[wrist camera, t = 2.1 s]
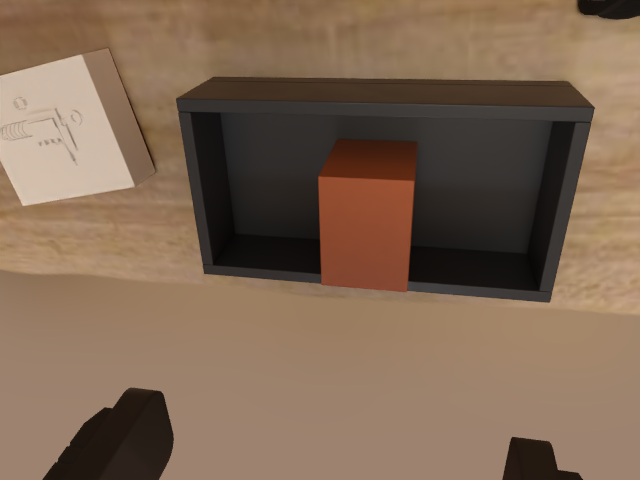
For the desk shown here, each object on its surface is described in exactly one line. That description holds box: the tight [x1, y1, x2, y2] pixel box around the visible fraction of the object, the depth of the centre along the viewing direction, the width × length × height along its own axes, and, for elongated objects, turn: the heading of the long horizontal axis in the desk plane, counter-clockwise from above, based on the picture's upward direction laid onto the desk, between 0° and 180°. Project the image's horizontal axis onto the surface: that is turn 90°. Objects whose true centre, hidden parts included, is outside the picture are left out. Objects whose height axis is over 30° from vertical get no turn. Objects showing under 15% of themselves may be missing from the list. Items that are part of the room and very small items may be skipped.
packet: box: [318, 139, 418, 292], centre depth 25 cm, size 6×4×5 cm
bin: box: [176, 77, 595, 303], centre depth 26 cm, size 9×17×4 cm, turn 91°
